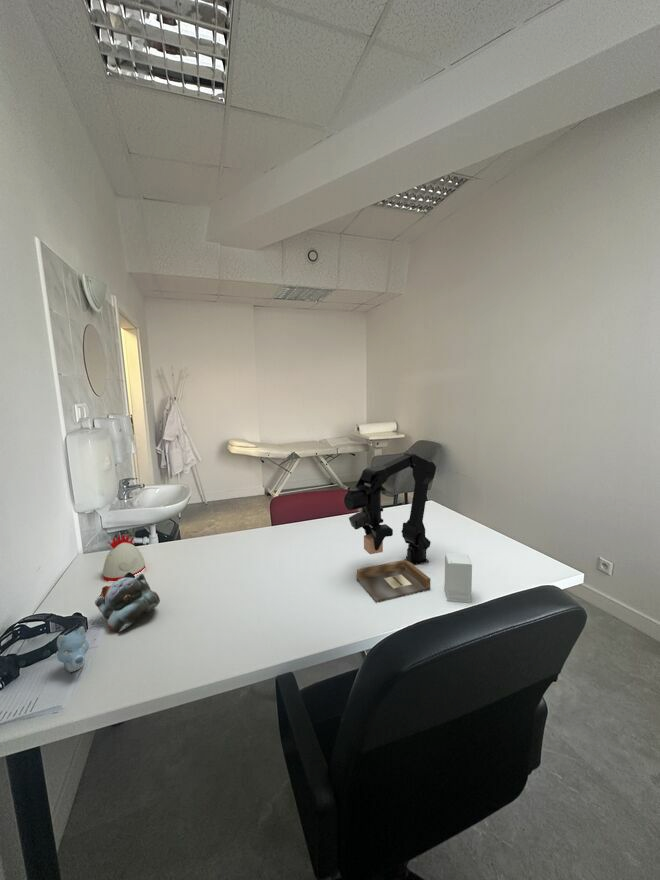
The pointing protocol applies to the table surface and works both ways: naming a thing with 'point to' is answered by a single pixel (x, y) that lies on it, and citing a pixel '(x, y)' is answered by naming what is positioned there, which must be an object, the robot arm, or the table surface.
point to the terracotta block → (371, 545)
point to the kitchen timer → (122, 560)
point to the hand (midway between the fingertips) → (373, 547)
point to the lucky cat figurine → (126, 601)
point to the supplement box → (458, 577)
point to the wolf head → (72, 649)
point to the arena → (392, 580)
